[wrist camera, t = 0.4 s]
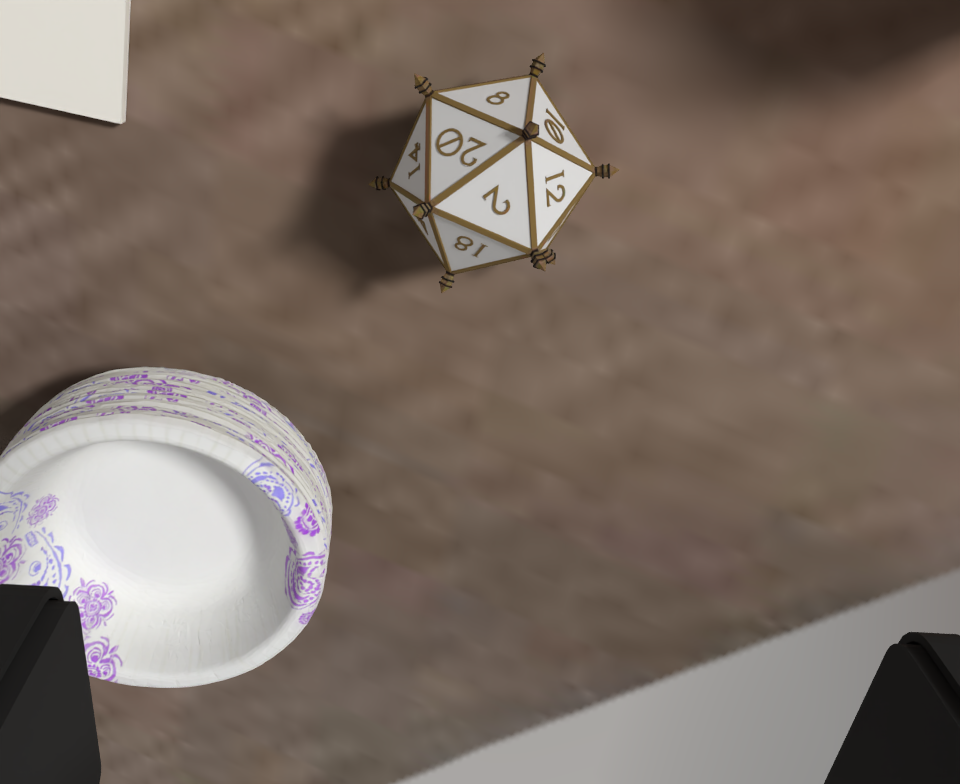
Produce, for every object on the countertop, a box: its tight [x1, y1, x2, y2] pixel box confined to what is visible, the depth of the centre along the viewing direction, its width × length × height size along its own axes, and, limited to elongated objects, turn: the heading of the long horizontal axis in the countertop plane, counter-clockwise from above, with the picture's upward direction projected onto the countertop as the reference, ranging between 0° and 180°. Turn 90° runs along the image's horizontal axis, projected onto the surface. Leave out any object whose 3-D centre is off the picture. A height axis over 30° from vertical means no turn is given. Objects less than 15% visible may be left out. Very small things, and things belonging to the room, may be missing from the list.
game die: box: [368, 53, 619, 293], centre depth 33 cm, size 9×8×10 cm
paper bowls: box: [0, 367, 332, 688], centre depth 40 cm, size 15×15×8 cm
